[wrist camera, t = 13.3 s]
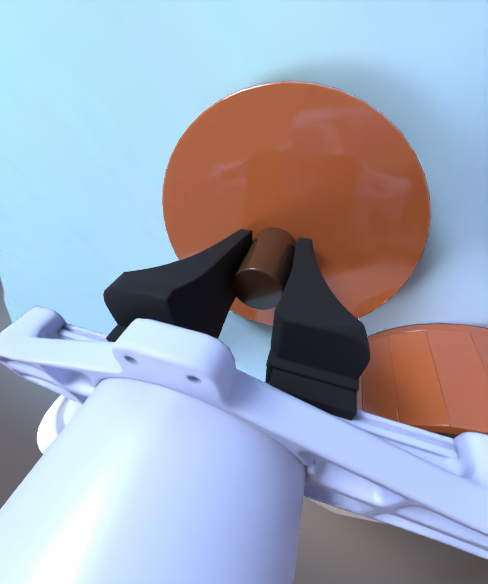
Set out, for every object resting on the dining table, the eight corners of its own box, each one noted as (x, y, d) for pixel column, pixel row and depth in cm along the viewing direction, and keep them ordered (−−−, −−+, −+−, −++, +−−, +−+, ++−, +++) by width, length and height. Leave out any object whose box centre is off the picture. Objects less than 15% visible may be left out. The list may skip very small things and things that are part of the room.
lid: (510, 77, 7) (627, 91, 4) (367, 336, 17) (370, 402, 14) (142, 80, 11) (51, 90, 7) (192, 296, 20) (161, 342, 17)
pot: (635, 357, 12) (780, 512, 8) (475, 435, 21) (506, 530, 16) (367, 304, 15) (372, 397, 11) (325, 392, 24) (319, 462, 19)
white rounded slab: (147, 292, 22) (14, 442, 13) (186, 320, 23) (86, 475, 14) (120, 330, 29) (22, 443, 20) (150, 350, 30) (69, 465, 21)
